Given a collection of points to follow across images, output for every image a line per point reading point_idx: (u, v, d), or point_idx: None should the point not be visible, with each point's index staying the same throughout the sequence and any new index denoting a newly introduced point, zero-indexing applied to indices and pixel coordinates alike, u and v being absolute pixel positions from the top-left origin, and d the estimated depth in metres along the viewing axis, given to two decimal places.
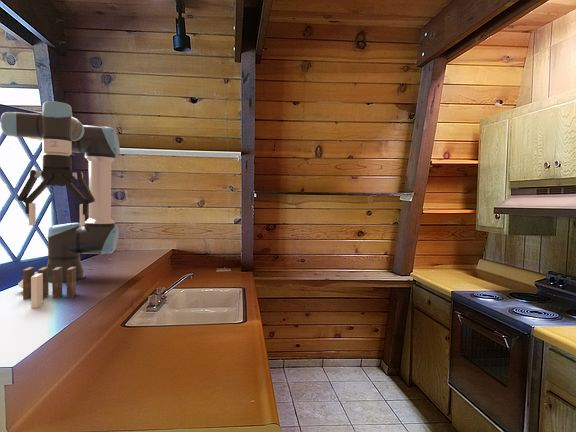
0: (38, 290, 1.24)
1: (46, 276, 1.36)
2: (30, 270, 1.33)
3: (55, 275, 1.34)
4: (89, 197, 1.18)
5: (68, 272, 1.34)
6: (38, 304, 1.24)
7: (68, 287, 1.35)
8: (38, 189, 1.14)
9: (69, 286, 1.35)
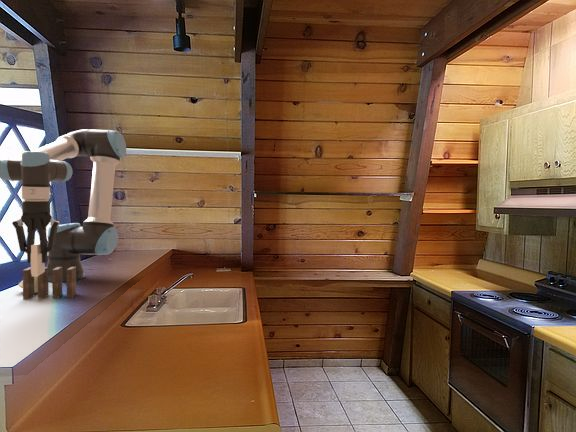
0: None
1: (46, 276, 1.36)
2: (30, 270, 1.33)
3: (55, 275, 1.34)
4: (50, 246, 1.24)
5: (68, 272, 1.34)
6: (38, 273, 1.24)
7: (68, 287, 1.35)
8: (29, 237, 1.22)
9: (69, 286, 1.35)
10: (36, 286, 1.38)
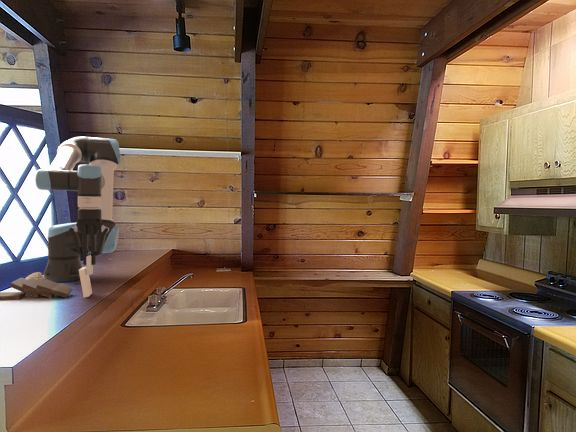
0: (87, 281, 1.37)
1: None
2: None
3: (28, 287, 1.32)
4: (99, 250, 1.38)
5: (39, 288, 1.32)
6: (89, 294, 1.37)
7: (55, 293, 1.34)
8: (84, 241, 1.36)
9: (54, 292, 1.33)
10: None
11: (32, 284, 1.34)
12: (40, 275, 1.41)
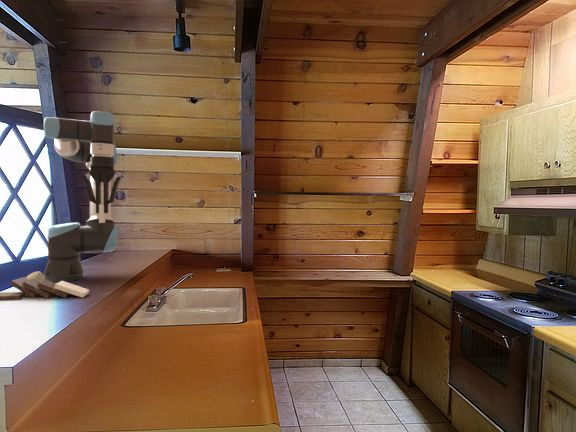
0: (71, 287, 1.37)
1: None
2: None
3: (28, 286, 1.33)
4: (111, 198, 1.37)
5: (40, 286, 1.33)
6: (83, 291, 1.37)
7: (55, 292, 1.34)
8: (97, 189, 1.36)
9: (54, 291, 1.34)
10: None
11: (32, 283, 1.35)
12: (39, 274, 1.42)
